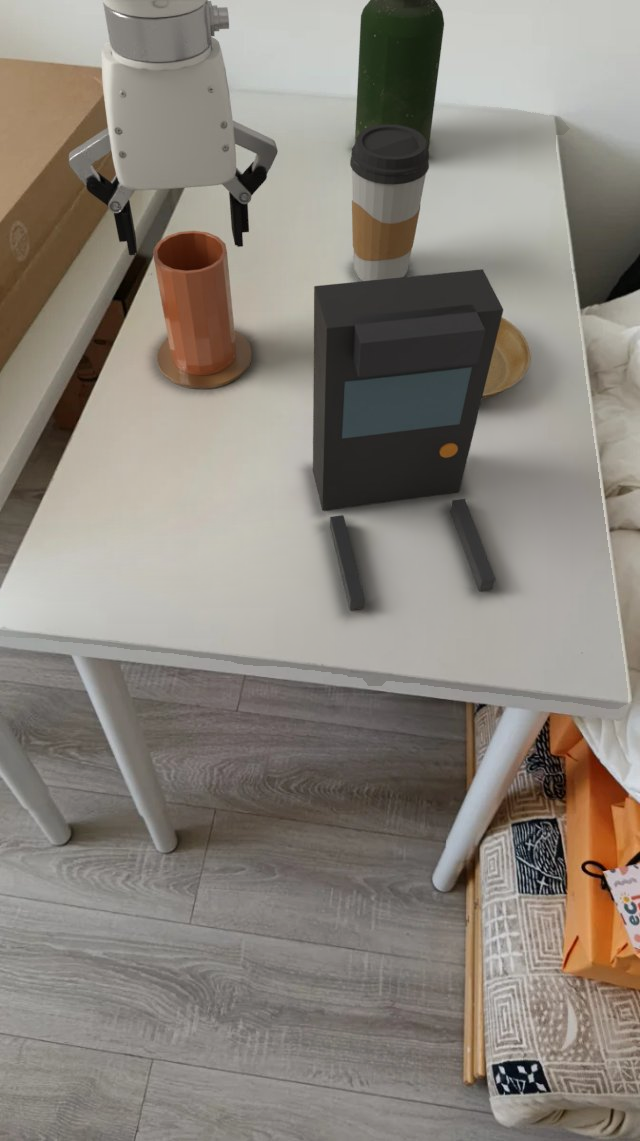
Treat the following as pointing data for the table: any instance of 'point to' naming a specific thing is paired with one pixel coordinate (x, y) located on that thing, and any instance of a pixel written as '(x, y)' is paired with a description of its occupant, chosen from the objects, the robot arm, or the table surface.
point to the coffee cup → (386, 198)
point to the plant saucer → (507, 360)
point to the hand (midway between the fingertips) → (185, 242)
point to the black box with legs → (400, 398)
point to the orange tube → (196, 301)
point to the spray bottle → (398, 64)
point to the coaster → (206, 381)
